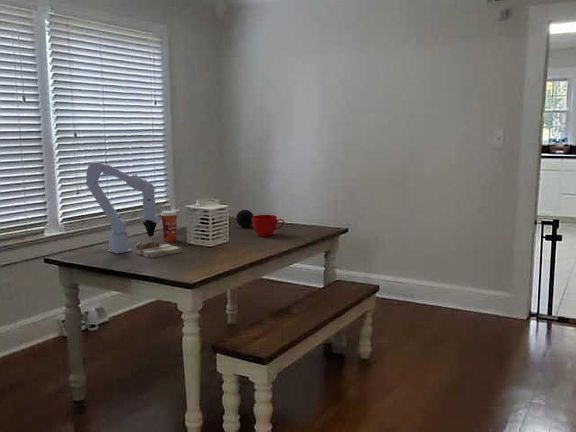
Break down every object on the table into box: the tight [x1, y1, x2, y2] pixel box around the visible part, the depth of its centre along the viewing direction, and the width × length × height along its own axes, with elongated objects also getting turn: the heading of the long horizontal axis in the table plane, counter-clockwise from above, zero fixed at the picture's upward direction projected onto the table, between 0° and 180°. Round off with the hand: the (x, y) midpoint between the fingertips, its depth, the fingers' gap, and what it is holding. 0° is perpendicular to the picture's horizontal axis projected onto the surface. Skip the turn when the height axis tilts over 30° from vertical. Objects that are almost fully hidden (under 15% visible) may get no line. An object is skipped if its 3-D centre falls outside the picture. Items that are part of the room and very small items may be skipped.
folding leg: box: [135, 240, 161, 249], centre depth 281 cm, size 11×2×3 cm, turn 133°
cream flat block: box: [134, 243, 182, 259], centre depth 279 cm, size 14×16×2 cm
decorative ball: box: [235, 209, 254, 228], centre depth 340 cm, size 10×10×10 cm
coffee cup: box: [160, 210, 178, 243], centre depth 305 cm, size 8×8×15 cm
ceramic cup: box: [252, 214, 285, 237], centre depth 315 cm, size 13×17×10 cm
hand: (150, 236), depth 286 cm, fingers closed
